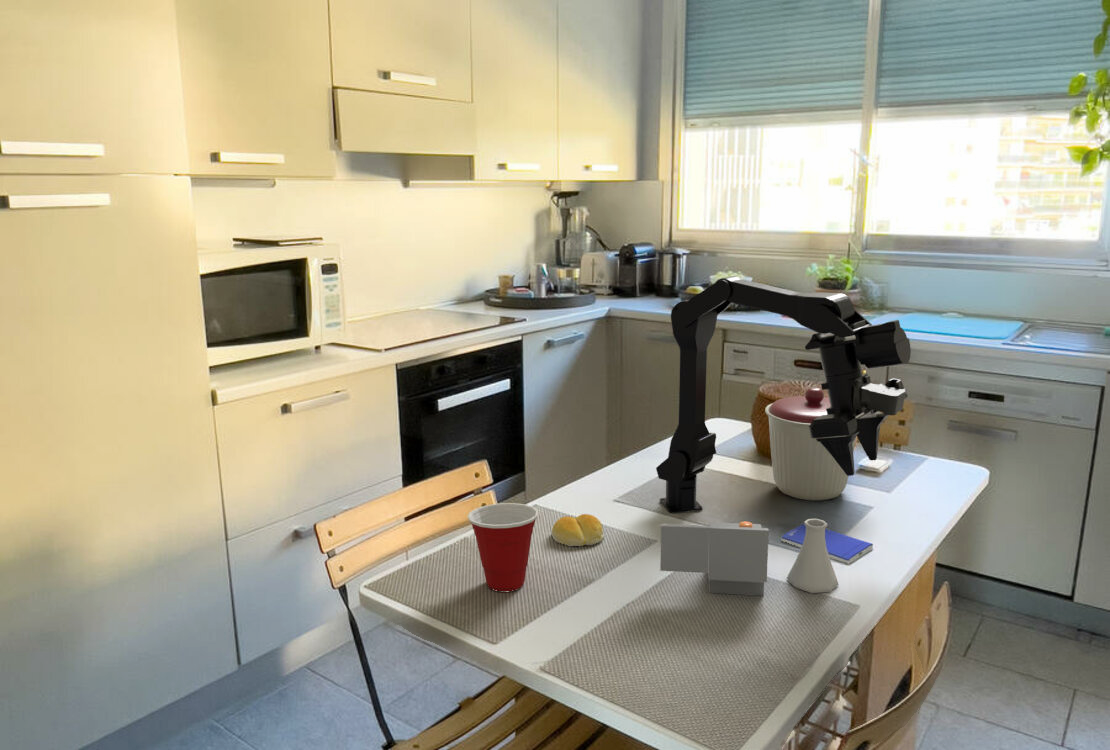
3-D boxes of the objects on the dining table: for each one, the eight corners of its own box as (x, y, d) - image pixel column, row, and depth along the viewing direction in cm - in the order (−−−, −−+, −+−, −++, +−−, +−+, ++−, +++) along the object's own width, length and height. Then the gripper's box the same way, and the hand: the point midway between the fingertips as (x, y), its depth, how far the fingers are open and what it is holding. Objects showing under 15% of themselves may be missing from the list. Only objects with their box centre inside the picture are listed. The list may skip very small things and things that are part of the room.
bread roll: (548, 531, 151) (548, 510, 150) (597, 527, 153) (597, 506, 152) (556, 551, 143) (555, 529, 142) (608, 546, 145) (607, 524, 144)
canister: (743, 491, 168) (747, 388, 163) (794, 469, 180) (799, 372, 175) (826, 517, 155) (832, 405, 150) (875, 491, 167) (882, 387, 162)
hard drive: (781, 535, 145) (848, 558, 136) (806, 521, 150) (873, 542, 142) (780, 543, 145) (848, 567, 137) (806, 529, 151) (872, 551, 142)
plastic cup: (534, 564, 138) (533, 495, 135) (545, 596, 128) (543, 522, 125) (468, 571, 136) (464, 501, 133) (473, 603, 126) (470, 528, 123)
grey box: (707, 568, 136) (709, 516, 133) (758, 571, 134) (761, 518, 132) (709, 594, 127) (710, 539, 125) (763, 597, 126) (766, 541, 124)
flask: (811, 598, 126) (815, 536, 123) (778, 579, 132) (780, 519, 130) (847, 587, 129) (851, 526, 126) (812, 568, 135) (816, 509, 133)
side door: (660, 574, 127) (661, 523, 126) (766, 579, 125) (768, 528, 124) (660, 577, 127) (660, 526, 125) (766, 582, 124) (768, 530, 123)
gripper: (869, 377, 123) (890, 481, 123) (914, 355, 136) (933, 449, 137) (798, 386, 130) (819, 484, 131) (848, 364, 144) (866, 454, 145)
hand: (862, 467), depth 136 cm, fingers open, 9 cm apart
